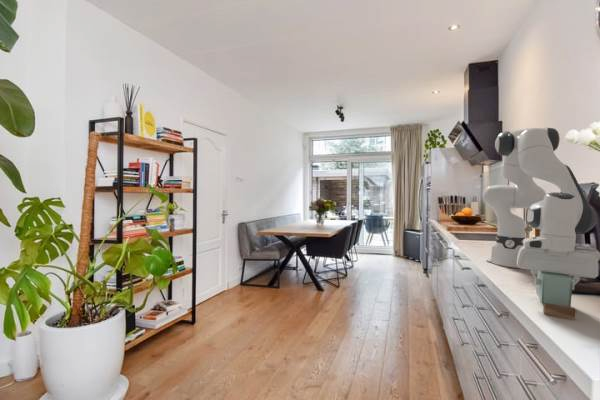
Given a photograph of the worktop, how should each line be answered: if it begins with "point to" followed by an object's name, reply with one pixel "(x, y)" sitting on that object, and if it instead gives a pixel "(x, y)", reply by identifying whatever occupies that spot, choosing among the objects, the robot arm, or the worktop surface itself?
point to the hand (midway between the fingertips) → (553, 286)
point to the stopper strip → (559, 311)
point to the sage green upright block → (554, 288)
